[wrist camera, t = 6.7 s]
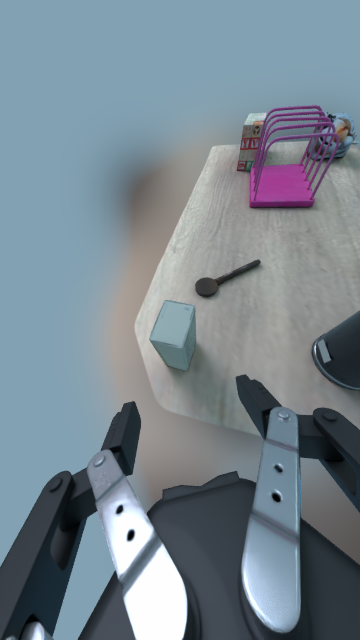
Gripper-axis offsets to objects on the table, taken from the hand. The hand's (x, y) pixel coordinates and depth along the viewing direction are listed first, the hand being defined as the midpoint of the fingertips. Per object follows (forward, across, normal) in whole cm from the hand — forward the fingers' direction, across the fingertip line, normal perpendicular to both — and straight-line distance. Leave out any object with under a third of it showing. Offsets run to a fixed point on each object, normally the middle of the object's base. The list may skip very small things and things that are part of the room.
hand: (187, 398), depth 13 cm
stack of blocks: (+71, -45, -48) cm, 97 cm away
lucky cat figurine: (+63, -70, -40) cm, 102 cm away
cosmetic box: (+18, 0, +5) cm, 19 cm away
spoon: (+29, -15, -6) cm, 33 cm away
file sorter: (+52, -44, -30) cm, 75 cm away
